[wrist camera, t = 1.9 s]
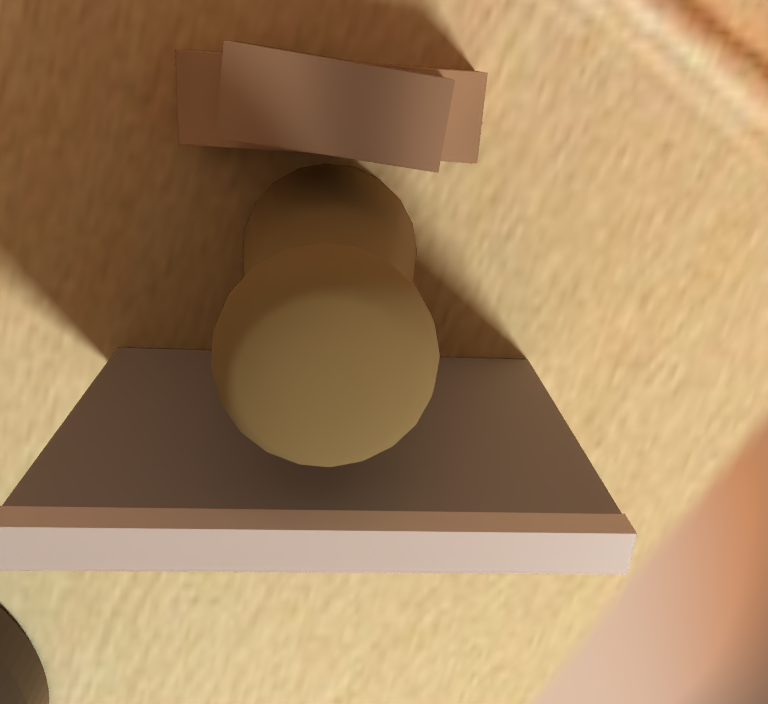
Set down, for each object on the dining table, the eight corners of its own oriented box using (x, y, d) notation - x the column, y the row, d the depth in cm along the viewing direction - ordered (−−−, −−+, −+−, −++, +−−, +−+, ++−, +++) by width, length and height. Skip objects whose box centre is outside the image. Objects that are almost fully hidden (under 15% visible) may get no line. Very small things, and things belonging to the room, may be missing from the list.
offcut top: (230, 128, 22) (216, 137, 19) (236, 41, 21) (223, 40, 18) (428, 159, 22) (438, 172, 20) (443, 76, 21) (455, 80, 19)
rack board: (120, 375, 27) (-9, 570, 17) (117, 344, 26) (-17, 526, 16) (523, 385, 28) (627, 574, 18) (527, 356, 27) (637, 533, 17)
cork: (438, 301, 26) (501, 460, 16) (281, 355, 27) (248, 543, 17) (384, 137, 24) (417, 203, 14) (213, 199, 24) (125, 307, 14)
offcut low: (194, 135, 24) (179, 144, 22) (191, 49, 23) (175, 49, 21) (464, 152, 25) (477, 163, 22) (473, 70, 24) (487, 72, 21)
